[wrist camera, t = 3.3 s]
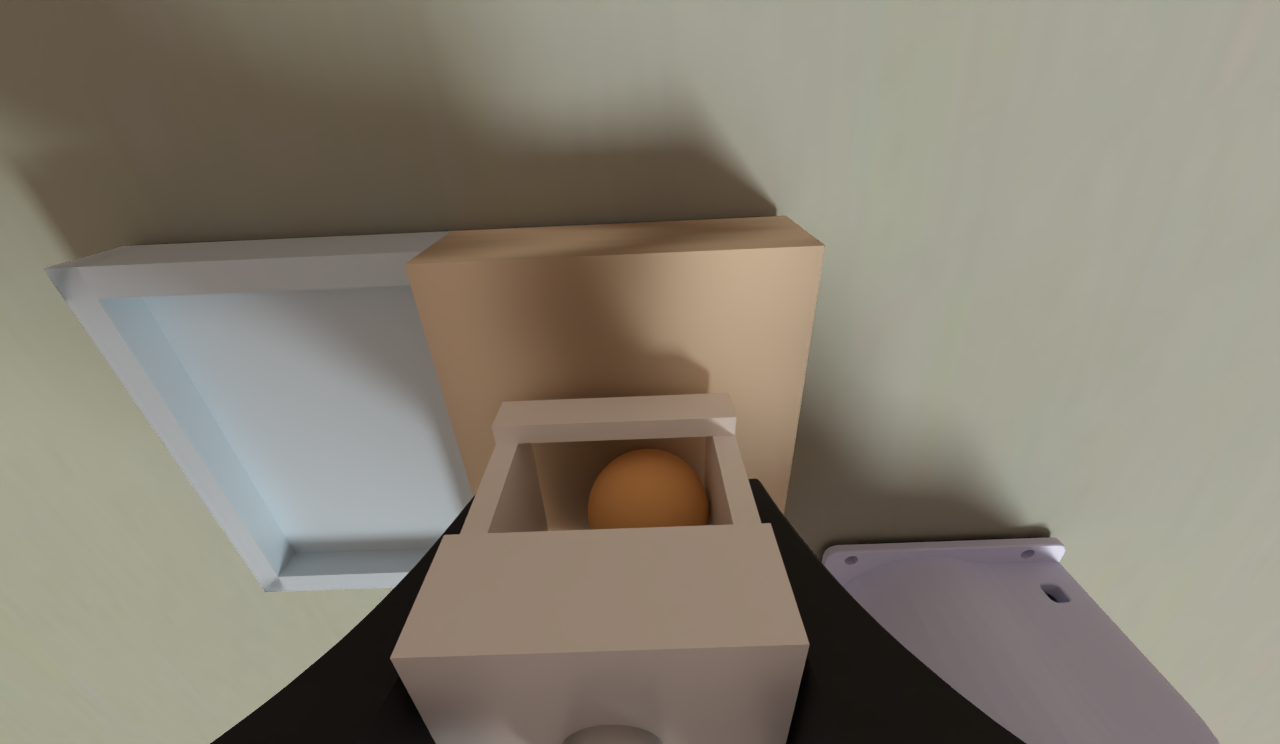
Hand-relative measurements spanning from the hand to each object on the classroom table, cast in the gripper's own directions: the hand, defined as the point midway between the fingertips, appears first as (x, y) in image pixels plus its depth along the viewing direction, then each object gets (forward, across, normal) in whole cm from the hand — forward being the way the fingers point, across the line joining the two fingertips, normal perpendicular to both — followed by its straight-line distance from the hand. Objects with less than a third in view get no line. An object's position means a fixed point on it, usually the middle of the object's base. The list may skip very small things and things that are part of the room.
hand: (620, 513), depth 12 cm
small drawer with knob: (+1, 0, 0) cm, 1 cm away
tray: (+5, +9, 0) cm, 10 cm away
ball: (0, -1, 0) cm, 1 cm away
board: (+5, 0, 0) cm, 5 cm away
